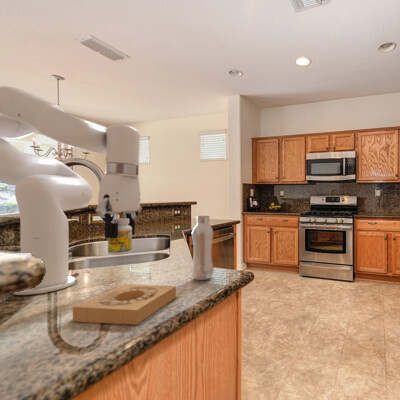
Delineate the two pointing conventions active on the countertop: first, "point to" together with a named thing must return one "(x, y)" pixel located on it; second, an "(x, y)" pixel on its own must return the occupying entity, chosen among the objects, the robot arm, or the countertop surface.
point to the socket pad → (124, 304)
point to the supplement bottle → (121, 239)
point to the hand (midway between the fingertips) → (120, 235)
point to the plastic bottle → (202, 249)
